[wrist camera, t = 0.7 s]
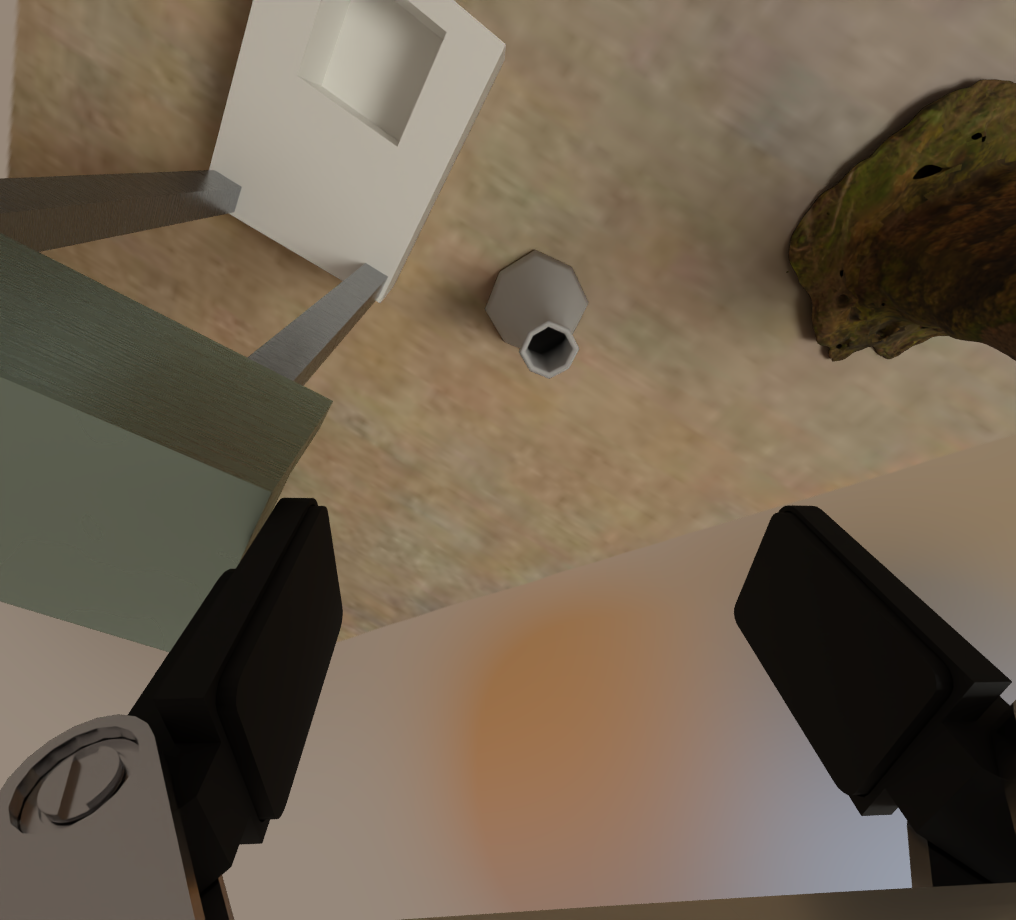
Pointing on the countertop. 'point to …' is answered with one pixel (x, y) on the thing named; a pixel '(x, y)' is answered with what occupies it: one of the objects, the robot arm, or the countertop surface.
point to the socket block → (351, 123)
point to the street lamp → (138, 414)
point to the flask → (539, 311)
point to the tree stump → (920, 233)
